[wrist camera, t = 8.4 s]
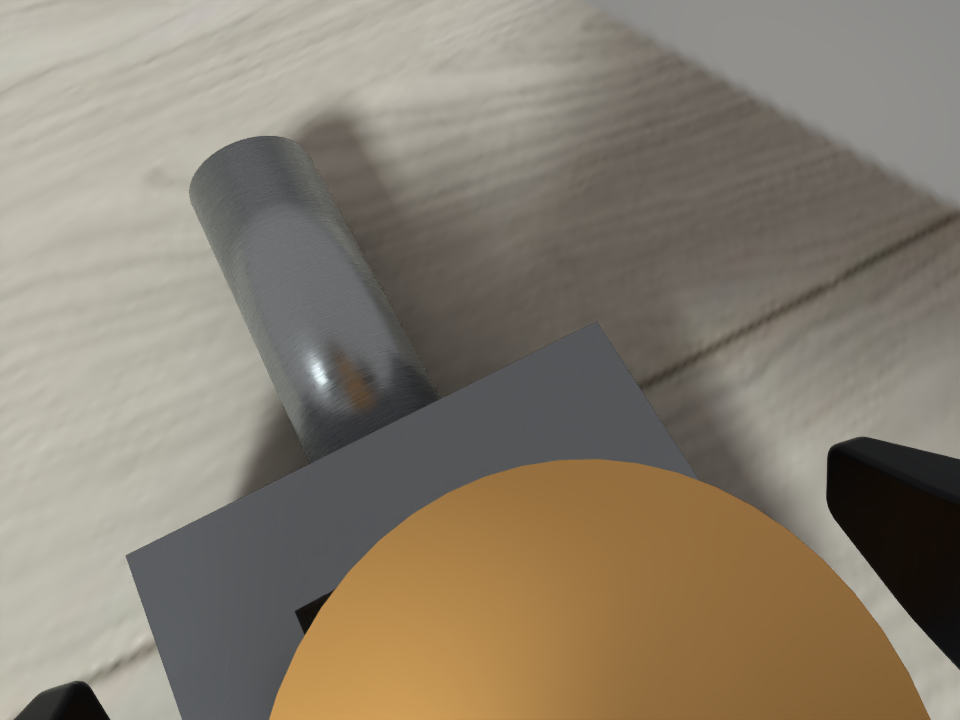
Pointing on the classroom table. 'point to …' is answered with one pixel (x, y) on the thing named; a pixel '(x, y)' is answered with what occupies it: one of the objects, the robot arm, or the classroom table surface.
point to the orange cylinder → (594, 612)
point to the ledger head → (346, 433)
